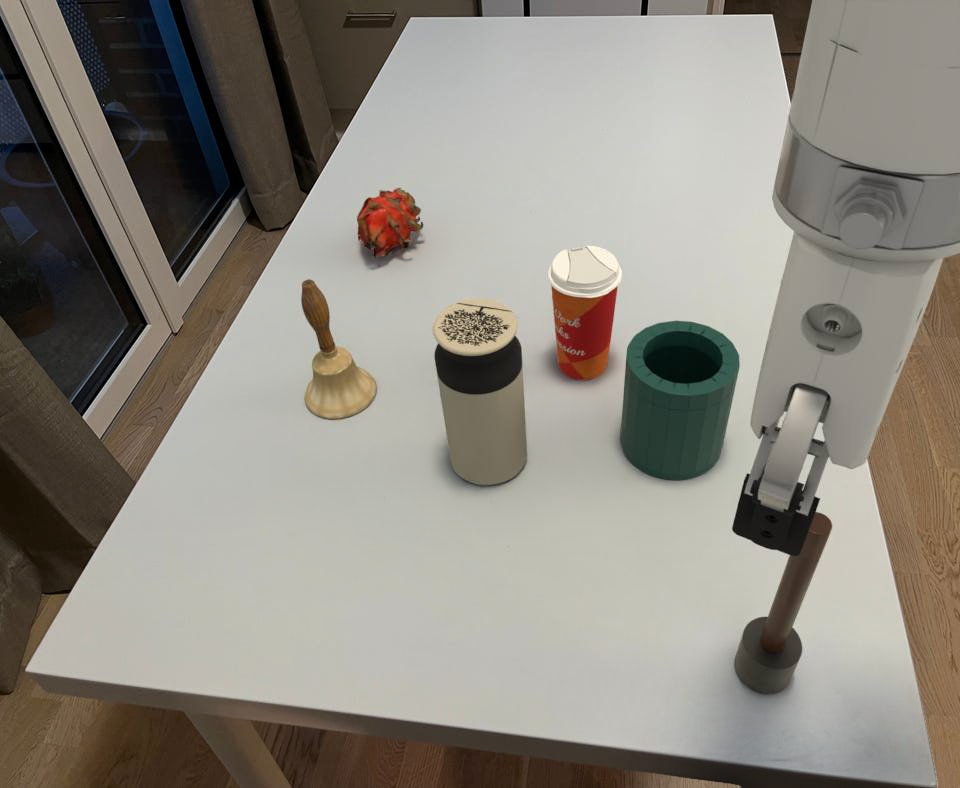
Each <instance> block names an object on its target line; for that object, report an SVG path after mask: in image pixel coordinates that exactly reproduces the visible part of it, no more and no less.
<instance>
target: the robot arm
mask: <svg viewBox="0 0 960 788" xmlns="http://www.w3.org/2000/svg"><path fill="white" fill-rule="evenodd" d="M794 84H795V85H794V90H793V92H792V97H791V102H790V107H789V112H788V116H787V122H786V127H785V131H784V136H783V141H782V146H781V150H780V156H779V160H778V165H777V169H776V175H775V179H774V184H773V190H772V195H771V196H772V197H771V198H772V199H771V200H772V203H773V208H774V210H775V212H776V214H777V215H778V217H779V218H780V219H781V221H782V222H783V223H784V224H785V225H786V226H787V227H789V228H790V229H791V230H792V231H793V234H792V238H791V241H790V245H789V248H788V254H787V258H786V261H785V265H784V270H783V274H782V277H781V280H780V285H779V289H778V293H777V298H776V301H775V305H774V309H773V315H772V318H771V322H770V326H769V330H768V335H767V339H766V343H765V348H764V352H763V357H762V361H761V365H760V370H759V373H758V374H759V375H758V379H757V384H756V389H755V394H754V399H753V404H752V408H751V415H750V427H751V430H752V432H753V434H754V435H755V436H756V439H759V440H761V441H760V444H759V447H758V449H757V452H756V455H755V458H754V461H753V464H752V467H751V470H750V473H748V472H747V473H746V475H745V477H744V479H743V483H742V487H741V490H740V495H739V498H738V502H737V506H736V511H735V515H734V519H733V523H732V527H731V530H732V532H733V533H734V534H735V535H737V536H738V537H741V538H744V539H746V540H749V541H751V542H752V543H753V544H755V545H757V546H759V547H762V548H765V549H766V550H767V549H768V550H772V551H778V552H781V553H783V554H786V555H789V556H790V555H791V556H798V555H800V553H801V550H802V547H803V545H804V542H805V539H806V537H807V534H808V531H809V528H810V526H811V523H812V520H813V518H814V515H815V512H817V509H818V506H819V504H820V500H821V498H820V497H818V496H816V494H817V491H818V488H819V485H820V482H821V479H822V477H823V474H824V471H825V469H826V465H827V463H828V461H829V460H830V462H831V464H833V465H836V466H840V467H844V468H846V469H849V470H854V469H857V468H859V467H861V466H863V465H864V464H866V462H867V460H868V458H869V455H870V452H871V449H872V447H873V444H874V441H875V439H876V437H877V434H878V431H879V428H880V426H881V423H882V421H883V419H884V416H885V413H886V410H887V408H888V406H889V404H890V400H891V398H892V395H893V393H894V390H895V388H896V385H897V383H898V380H899V378H900V375H901V373H902V370H903V367H904V365H905V363H906V360H907V358H908V356H909V353H910V351H911V348H912V345H913V343H914V340H915V338H916V335H917V332H918V330H919V327H920V325H921V323H922V320H923V317H924V314H925V312H926V310H927V307H928V304H929V301H930V299H931V296H932V293H933V290H934V287H935V284H936V282H937V279H938V276H939V273H940V270H941V267H942V264H943V260H944V259H946V258H950V257H953V256H955V255H958V254H960V0H811V6H810V10H809V15H808V20H807V25H806V30H805V34H804V39H803V44H802V49H801V54H800V58H799V64H798V69H797V74H796V78H795V83H794ZM784 414H785V415H784ZM783 415H784V418H783V420H782V424H781V426H780V427H779V423H780V420H781V418H782V417H783ZM819 424H822V427H821V430H822V434H823V438H824V441H823V440H820V439H817V438H815V437H814V436H815V434H816V431H817V428H818V426H819ZM808 455H810V456H814V458H813V461H812V463H811V465H810V469H809V472H808V474H807V477H806V481H805V483H802V482H799V479H800V475H801V473H802V470H803V468H804V464H805V462H806V459H807V456H808Z"/></svg>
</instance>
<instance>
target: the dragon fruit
mask: <svg viewBox="0 0 960 788" xmlns="http://www.w3.org/2000/svg"><path fill="white" fill-rule="evenodd" d="M378 192H379V193H378V196H376V197H375V196H374V197H367V198H366V199H365V200H364V201H363V205H362V207H361V209H360V211H359V212H358V214H357V217H356V222H357V240H358V242H361V243H362V245H363V247H364V248H365V249H368V251H370V253H372V257H374V258H375V259H376V258H379V259H380V258H383V257H388V256H390V255H392V252H393V250H391V249H393V248H395V247H396V246H398V247H399V248H400V249H401V250H402V249H403V250H405V249H408V248H410V246H411V245H412V244H413V242H414V240H413V239H412V238H411V234H412V232H415V233H418V232H419V231H422V229H423V228H424V222H423V221H421V217H420V216H419V215H420V214H421V212H422V208H420V207H419V206H417V205H416V199H415V198H414V196H413V195H411V194H410V192H408V191H407V192H406V191H405V190H404V189H402V188H401V187H397V188H394V189H393V190H383V189H381V190H380V189H379V191H378ZM417 216H418V218H417ZM419 222H420V223H419ZM390 250H391V251H390Z"/></svg>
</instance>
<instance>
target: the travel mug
mask: <svg viewBox="0 0 960 788" xmlns="http://www.w3.org/2000/svg"><path fill="white" fill-rule="evenodd" d="M517 331H518V318H517V316H516V314H515V312H514V311H513V310H512V309H511V308H509V307H508V306H507V305H505V304H504V303H501V302H499V301H497V300H493V299H487V298H471V299H465V300H464V299H463V300H461V301H458V302H456V303H453V304H451V305H449V306H448V307H446V308H444V309H443V310H442V311H441V312H439V314H438V315H437V317H436V318H435V320H434V323H433V326H432V334H433V337H434V339H435V340H436V342H437V345H436V347H435V348H434V349H435V350H434V356H433V357H434V364H435V370H436V376H437V383H438V388H439V394H440V400H441V401H440V402H441V408H442V414H443V415H442V416H443V420H444V421H443V422H444V426H445V432H446V434H445V435H446V439H447V447H448V452H449V457H450V465H451V466H452V468H453V470H454V472H455V473H456V474H457V475H458V476H459V477H461V478H462V479H463V480H465V481H467V482H470V483H472V484H476V485H480V486H481V485H483V486H491V485H492V486H493V485H497V484H501V483H504V482H507V481H509V480H511V479H512V478H514V477H515V476H516V475H518V474H519V473H520V472H521V471H522V469H523V468H524V467H525V465H526V463H527V458H528V443H527V425H526V406H525V389H524V388H525V387H524V369H523V367H524V366H523V350H522V344H521V342H520V340H519V338H518V336H516V335H517Z"/></svg>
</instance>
